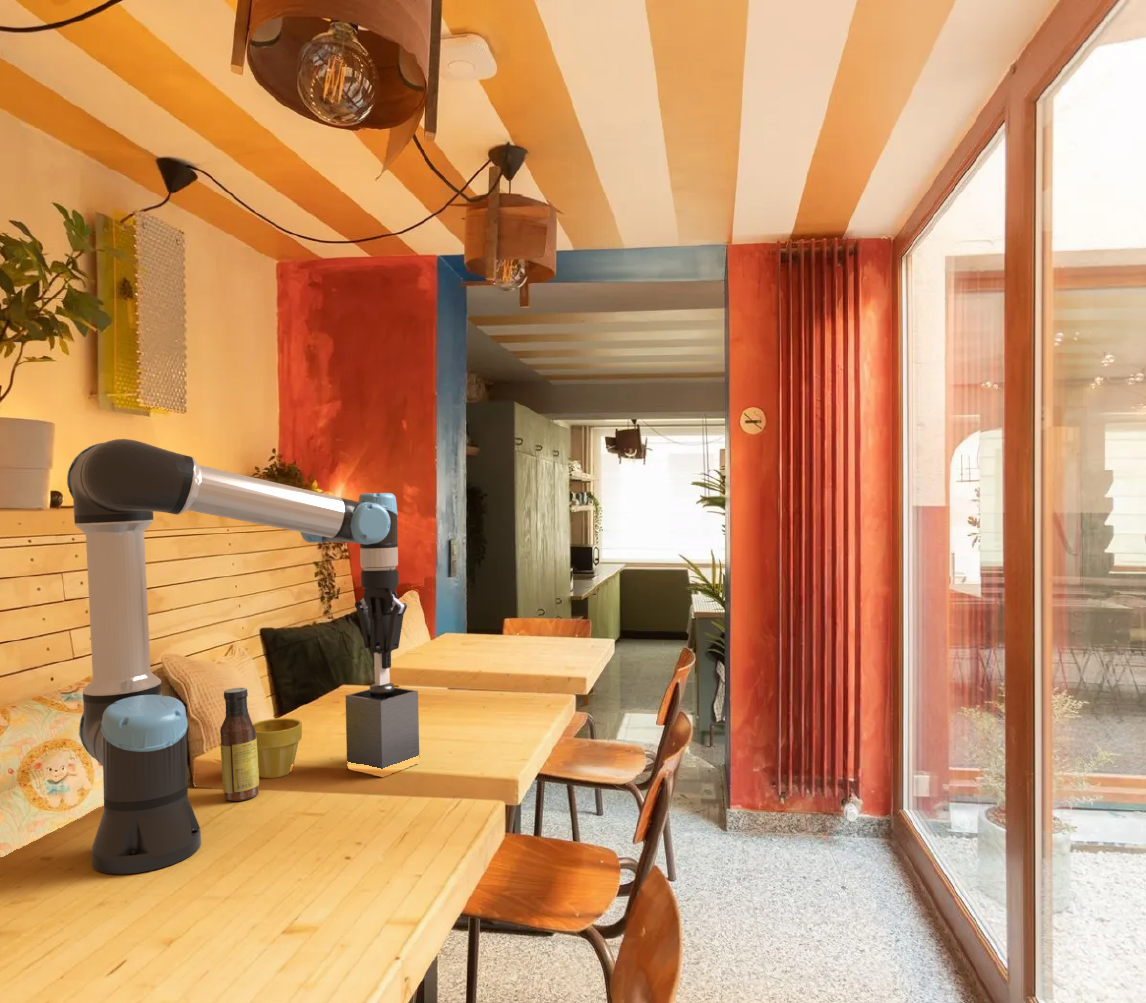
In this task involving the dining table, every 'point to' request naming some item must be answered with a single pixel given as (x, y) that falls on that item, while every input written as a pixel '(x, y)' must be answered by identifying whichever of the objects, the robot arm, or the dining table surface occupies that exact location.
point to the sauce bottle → (238, 748)
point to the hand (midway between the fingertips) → (382, 683)
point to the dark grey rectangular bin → (382, 728)
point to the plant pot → (277, 745)
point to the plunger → (382, 691)
